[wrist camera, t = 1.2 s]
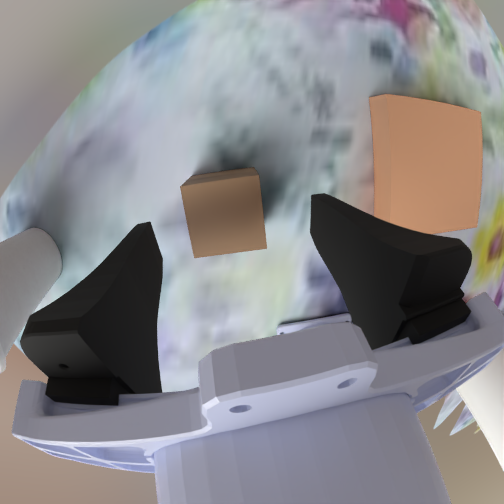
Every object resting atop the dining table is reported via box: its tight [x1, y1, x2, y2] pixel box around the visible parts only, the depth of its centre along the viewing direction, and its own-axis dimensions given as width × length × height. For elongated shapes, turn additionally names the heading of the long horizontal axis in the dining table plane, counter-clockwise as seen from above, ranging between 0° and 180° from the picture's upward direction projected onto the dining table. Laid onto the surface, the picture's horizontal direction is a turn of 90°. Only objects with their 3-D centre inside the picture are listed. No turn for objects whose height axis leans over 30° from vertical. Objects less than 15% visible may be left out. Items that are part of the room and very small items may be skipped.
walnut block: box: [180, 167, 267, 258], centre depth 20 cm, size 5×5×5 cm
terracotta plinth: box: [369, 94, 483, 234], centre depth 20 cm, size 12×12×3 cm
